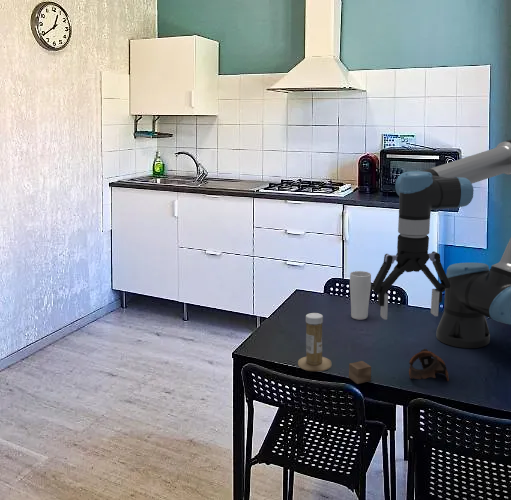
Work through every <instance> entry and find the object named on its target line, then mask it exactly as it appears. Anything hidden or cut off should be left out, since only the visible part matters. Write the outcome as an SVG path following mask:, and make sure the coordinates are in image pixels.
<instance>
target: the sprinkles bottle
mask: <svg viewBox="0 0 511 500" xmlns="http://www.w3.org/2000/svg"><path fill="white" fill-rule="evenodd" d="M323 323H324V316H323V314H321V313H318V312H311V313H307V314H306V315H305V325H306V326H305V328H306V331H305V351H306V352H305V353H306V356H305V357H306V362H307V363H308V364H310V365H319V364H321V363H322V357H323Z"/></svg>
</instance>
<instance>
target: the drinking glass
mask: <svg viewBox="0 0 511 500" xmlns="http://www.w3.org/2000/svg"><path fill="white" fill-rule="evenodd" d="M349 273H350V275H349V292H350V295H349V296H350V297H349V298H350V312H351V313H350V317H351V318H352V319H354V320H357V321H358V320H360V321H361V320H366V319H367V318H368V315H369V314H368V313H369V305H370V304H369V303H370V296H371V290H372V289H371V285H372V273H371V272H368V271H363V270H359V271H358V270H356V271H351V272H349Z"/></svg>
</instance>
